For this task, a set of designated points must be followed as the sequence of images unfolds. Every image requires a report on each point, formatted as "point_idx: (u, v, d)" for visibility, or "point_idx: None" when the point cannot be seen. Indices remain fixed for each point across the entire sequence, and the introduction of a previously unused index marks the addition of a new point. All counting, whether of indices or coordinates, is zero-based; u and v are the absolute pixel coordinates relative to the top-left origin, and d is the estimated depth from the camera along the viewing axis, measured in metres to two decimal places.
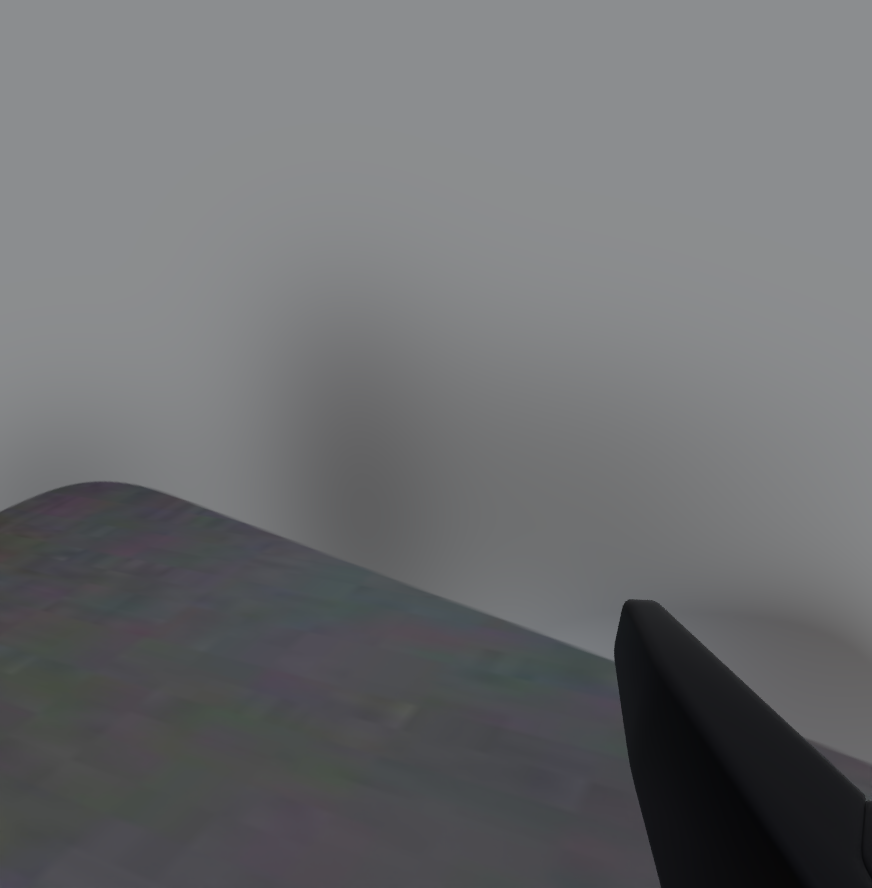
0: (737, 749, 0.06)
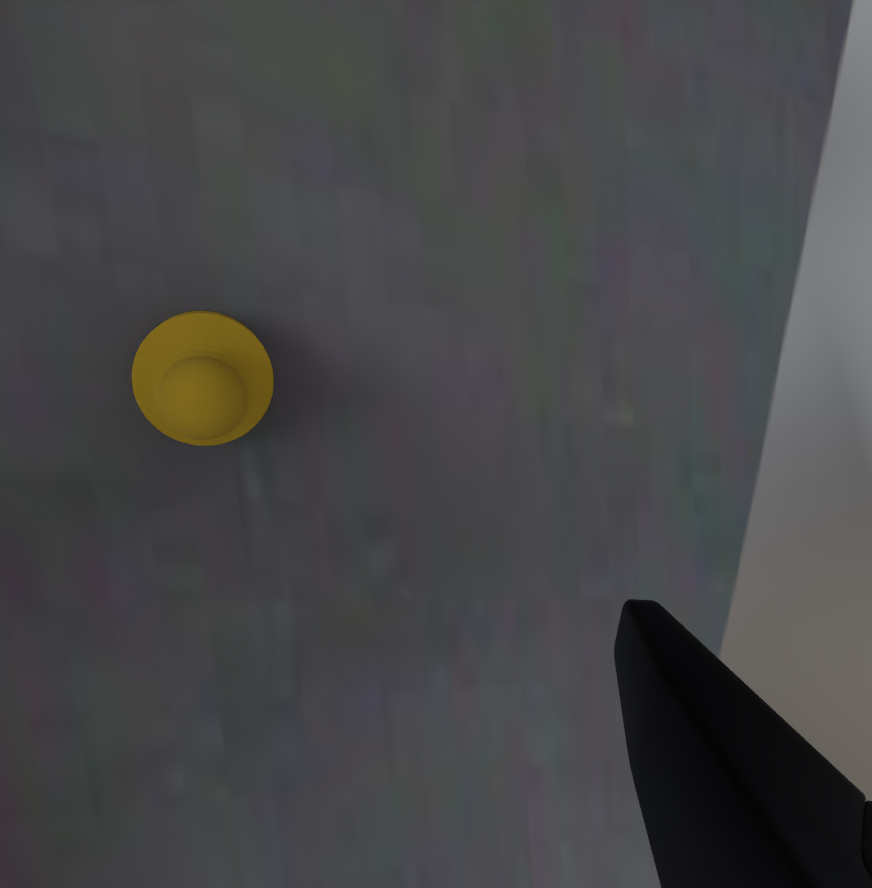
0: (737, 749, 0.06)
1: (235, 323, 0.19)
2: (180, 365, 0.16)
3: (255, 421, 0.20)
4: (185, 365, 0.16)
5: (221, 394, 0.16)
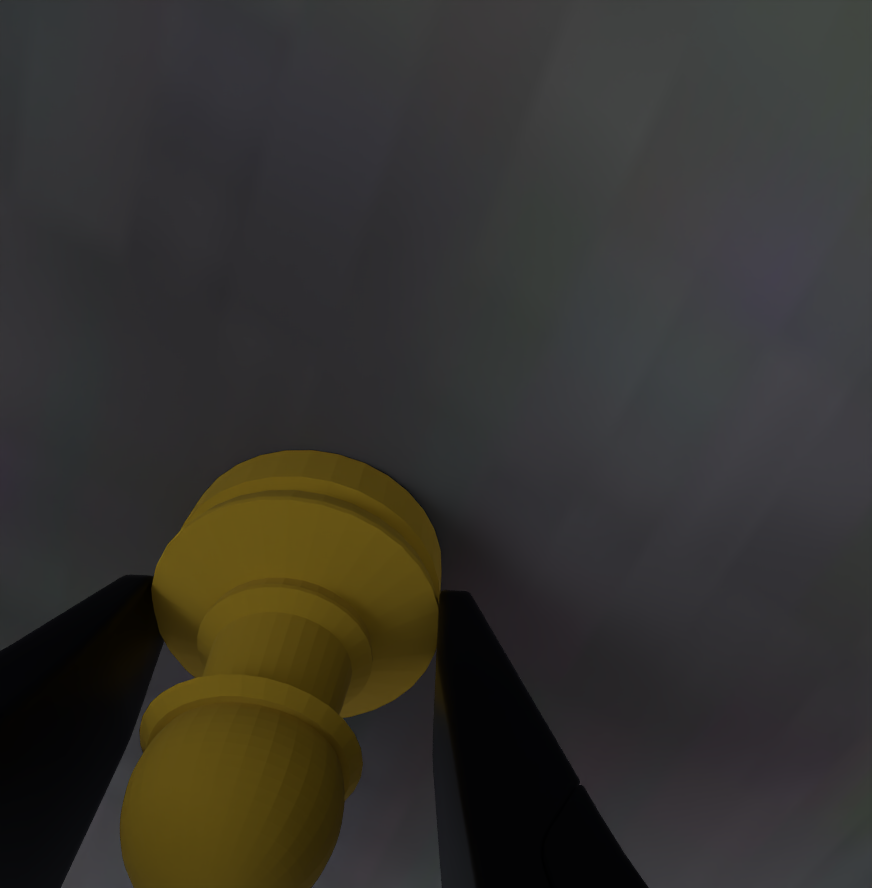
0: (472, 735, 0.06)
1: (406, 557, 0.08)
2: (202, 765, 0.06)
3: (356, 712, 0.10)
4: (211, 781, 0.06)
5: None
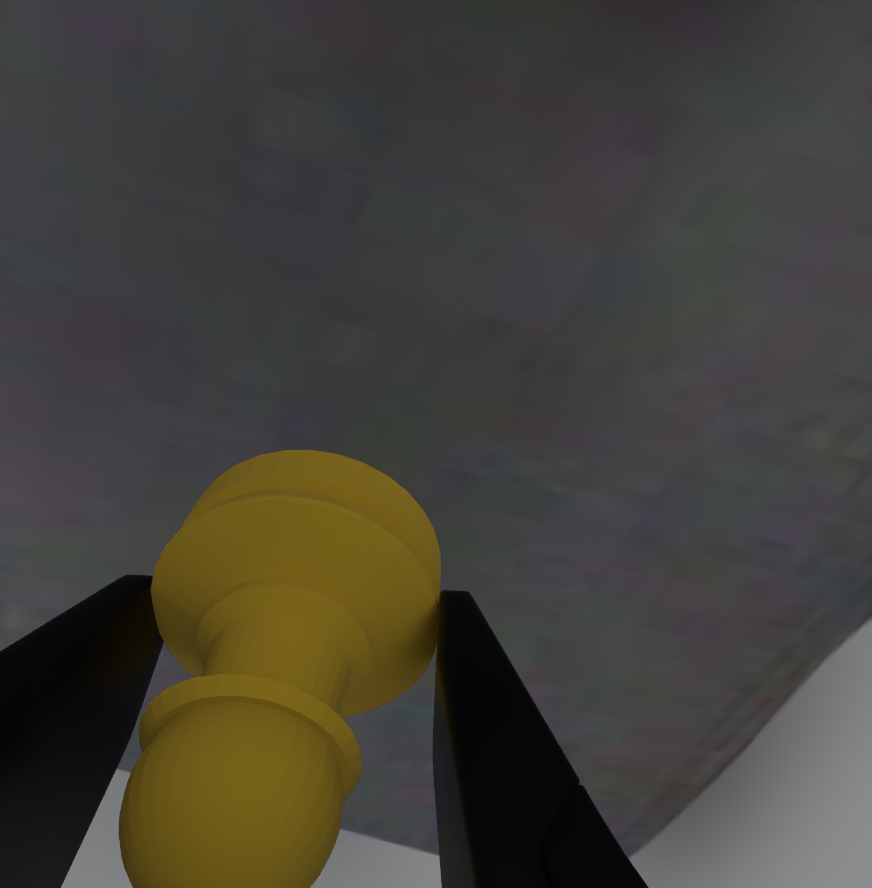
0: (472, 734, 0.06)
1: (405, 557, 0.08)
2: (202, 765, 0.06)
3: (356, 712, 0.10)
4: (210, 780, 0.06)
5: None
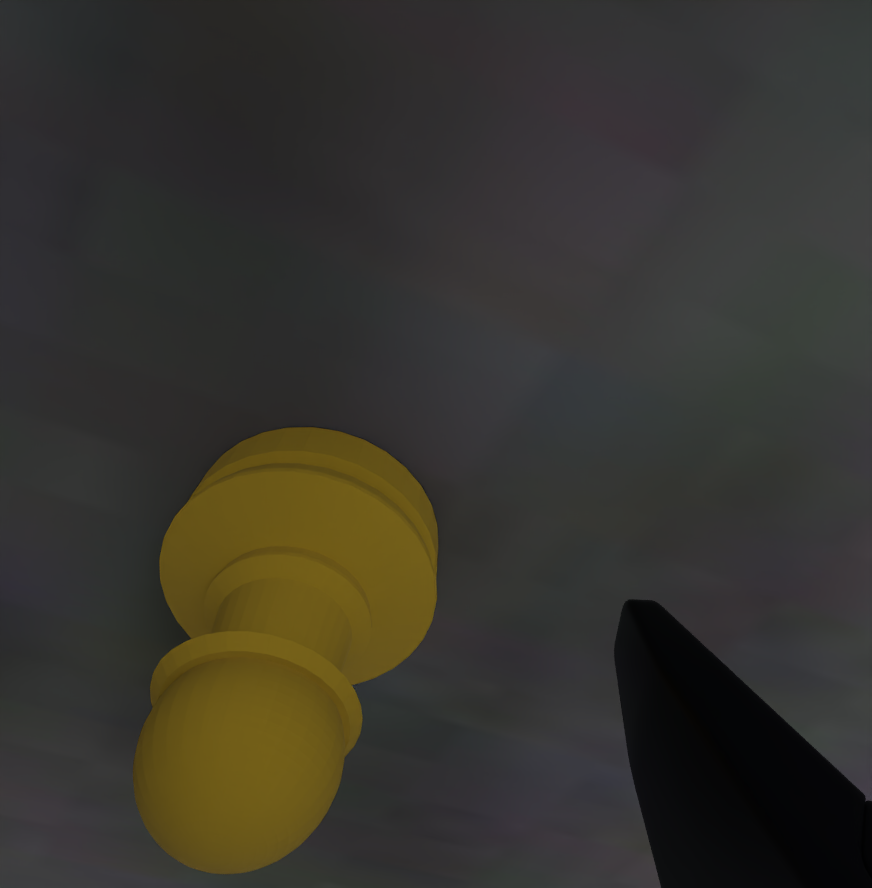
0: (737, 749, 0.06)
1: (403, 528, 0.09)
2: (211, 712, 0.06)
3: (356, 680, 0.10)
4: (220, 726, 0.06)
5: (268, 839, 0.06)
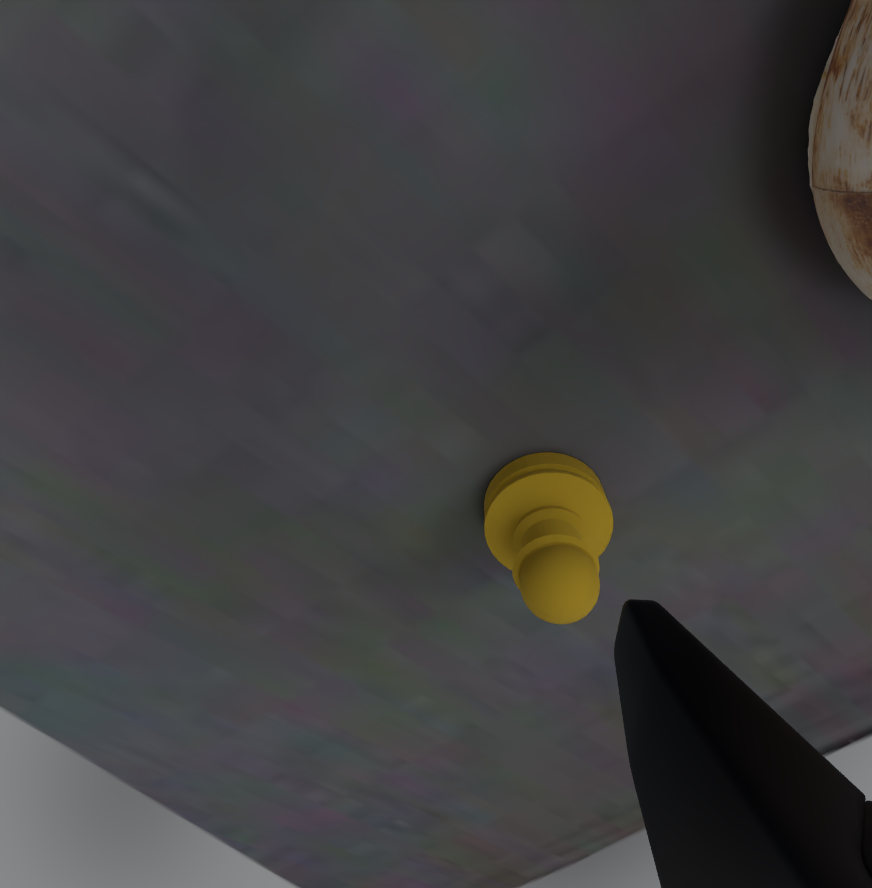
0: (737, 748, 0.06)
1: (611, 515, 0.20)
2: (575, 562, 0.17)
3: None
4: (579, 567, 0.17)
5: (583, 610, 0.17)
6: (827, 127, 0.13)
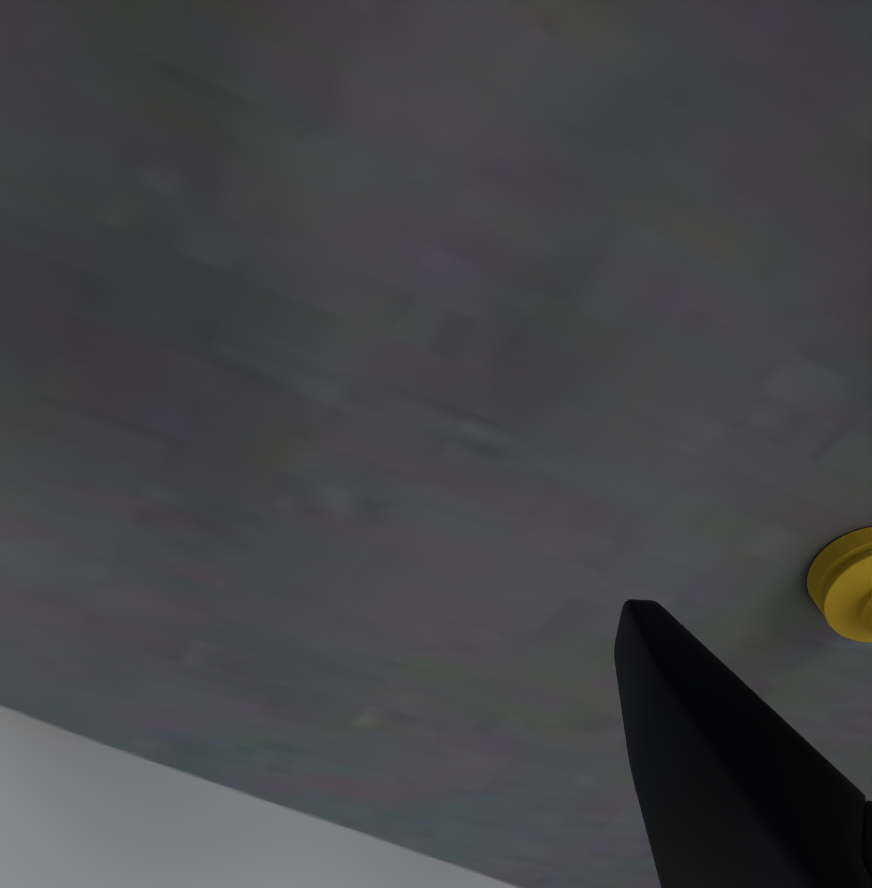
0: (737, 749, 0.06)
1: None
2: None
3: None
4: None
5: None
6: None
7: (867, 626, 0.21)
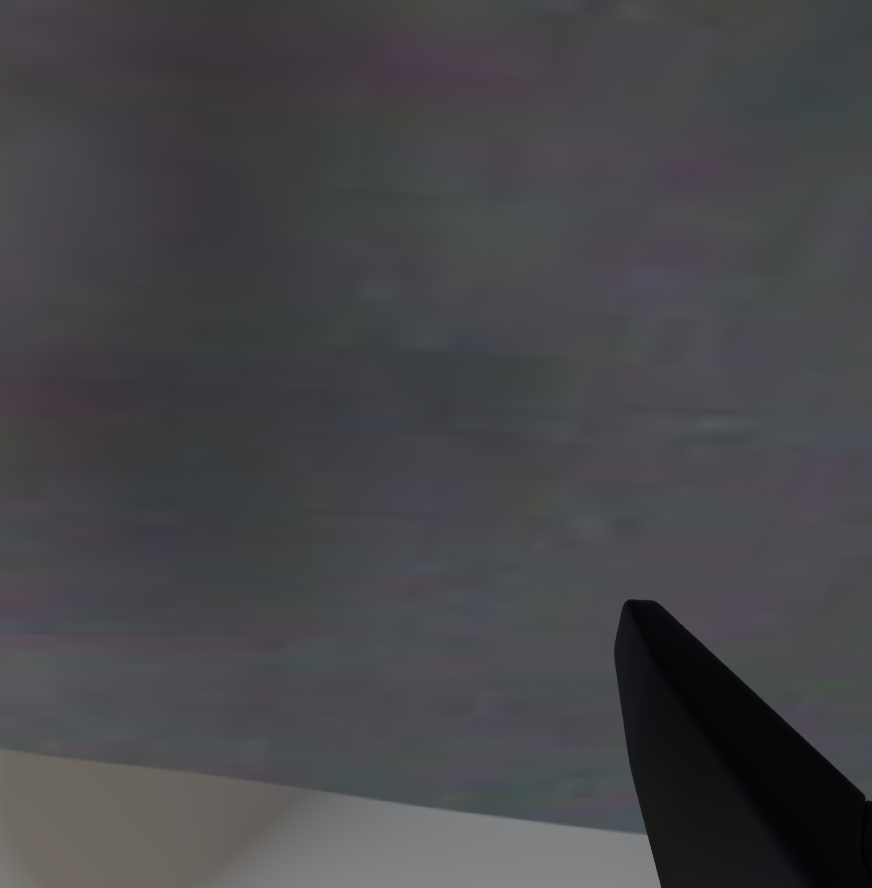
0: (737, 748, 0.06)
1: None
2: None
3: None
4: None
5: None
6: None
7: None
